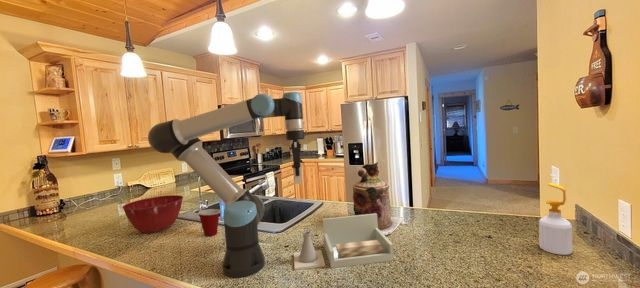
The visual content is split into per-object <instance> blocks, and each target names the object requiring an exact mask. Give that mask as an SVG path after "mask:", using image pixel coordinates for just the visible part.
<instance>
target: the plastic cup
mask: <svg viewBox="0 0 640 288" xmlns="http://www.w3.org/2000/svg"><path fill="white" fill-rule="evenodd" d="M221 211H222V210H221V209H217V208H208V209H202V210H199V211H198V212H197V214H198V216H199V220H200V223H201V227H202V230H203V234H204V236H205V237H213V236H216V235H217V233H218V227H219V222H220V220H219V219H220V214H221Z"/></svg>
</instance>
